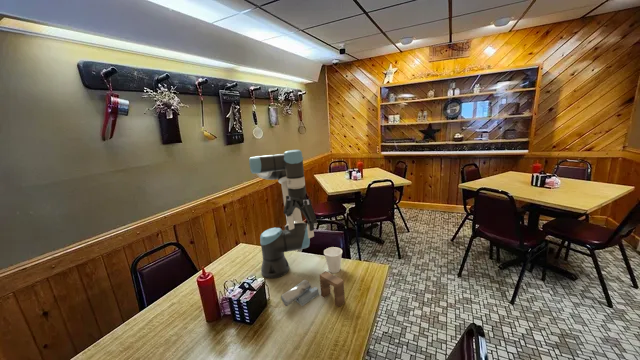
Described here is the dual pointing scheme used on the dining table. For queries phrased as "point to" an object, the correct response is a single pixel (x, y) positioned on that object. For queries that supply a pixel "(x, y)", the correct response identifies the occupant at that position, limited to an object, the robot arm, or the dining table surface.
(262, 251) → the robot arm
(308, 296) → the cradle
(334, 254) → the cup
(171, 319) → the dining table surface
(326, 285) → the brown arch block
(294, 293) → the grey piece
